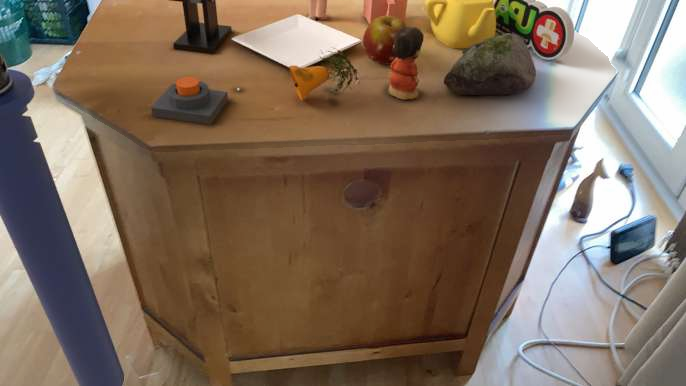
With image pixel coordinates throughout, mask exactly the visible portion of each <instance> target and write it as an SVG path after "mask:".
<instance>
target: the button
mask: <svg viewBox="0 0 686 386" xmlns="http://www.w3.org/2000/svg"><path fill="white" fill-rule="evenodd" d="M199 81H200V80H199V79H198V78H197V77H193V76H183V77H181V78H179V79H176V82H175V83H176V86H177V92H178V94H179V95H180V96H194V95H196V94H198V93H199V92H200V86H199Z"/></svg>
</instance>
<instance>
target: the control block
mask: <svg viewBox="0 0 686 386" xmlns="http://www.w3.org/2000/svg"><path fill="white" fill-rule="evenodd" d="M199 86H200V92H199V93H198V94H196V95H194V96H180V95H179V94H178V92H177V86H176V82H175V83H172V84H170V86H168V88H167V89H166V90H165V91H164V92H163V93H162V94H161V96H160V97H158V99H157V100H156V101H155V102H154V103H153V104H152V105H151V107H150V111H151V115H152V117H155V118H162V119H167V120H168V119H169V120H176V121H182V122H189V123H196V124H203V125H210V126H211V125H212V124H213V122H214V121H215V120H216V118H217V117H218V115H219V114H220V113H221V111H222V110H223V109H224V107H225V105H226V104H227V103H228V101H229V97H228V91H224V90H216V89H210V87H209V84H207V83H205V82H203V81H201V80H199Z"/></svg>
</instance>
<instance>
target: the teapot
mask: <svg viewBox="0 0 686 386" xmlns="http://www.w3.org/2000/svg"><path fill="white" fill-rule="evenodd" d="M424 7H425V9H424V10H425V12H426V14H427V16H428V17H429V19H430V28H431V29H432V32H433V34H434V36H435V38H436V39H437V40H438V41H439V42H440V43H442V44H443V45H445V46H447V47H449V48H452V49H460V50H462V49H465V50H466V48H467V49H468V48H470V47H471V46H472V45H475V44H477V43H479V42H480V41H483V40H484V39H488V38H490V37H494V36H496V31H497V30H496V15H495V9H494V0H426V1H425V3H424Z"/></svg>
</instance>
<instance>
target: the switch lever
mask: <svg viewBox="0 0 686 386" xmlns="http://www.w3.org/2000/svg"><path fill="white" fill-rule="evenodd" d="M170 1H171V2H180V3H182V2H187V3H189V2H192V3H197V4H200V5H202V0H169V2H170Z"/></svg>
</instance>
